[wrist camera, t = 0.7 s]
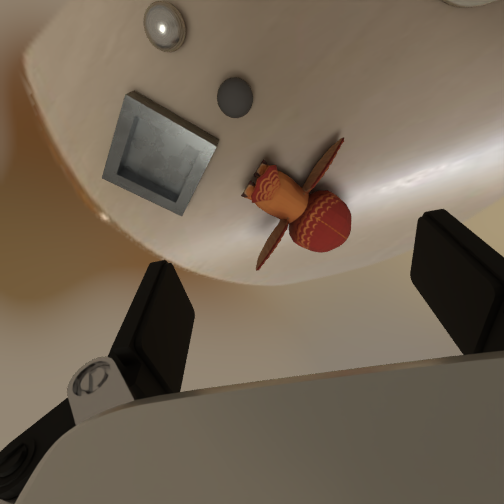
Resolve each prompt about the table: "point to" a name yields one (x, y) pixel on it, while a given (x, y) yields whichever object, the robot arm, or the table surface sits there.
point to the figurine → (301, 208)
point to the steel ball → (164, 26)
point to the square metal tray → (157, 153)
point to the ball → (235, 97)
